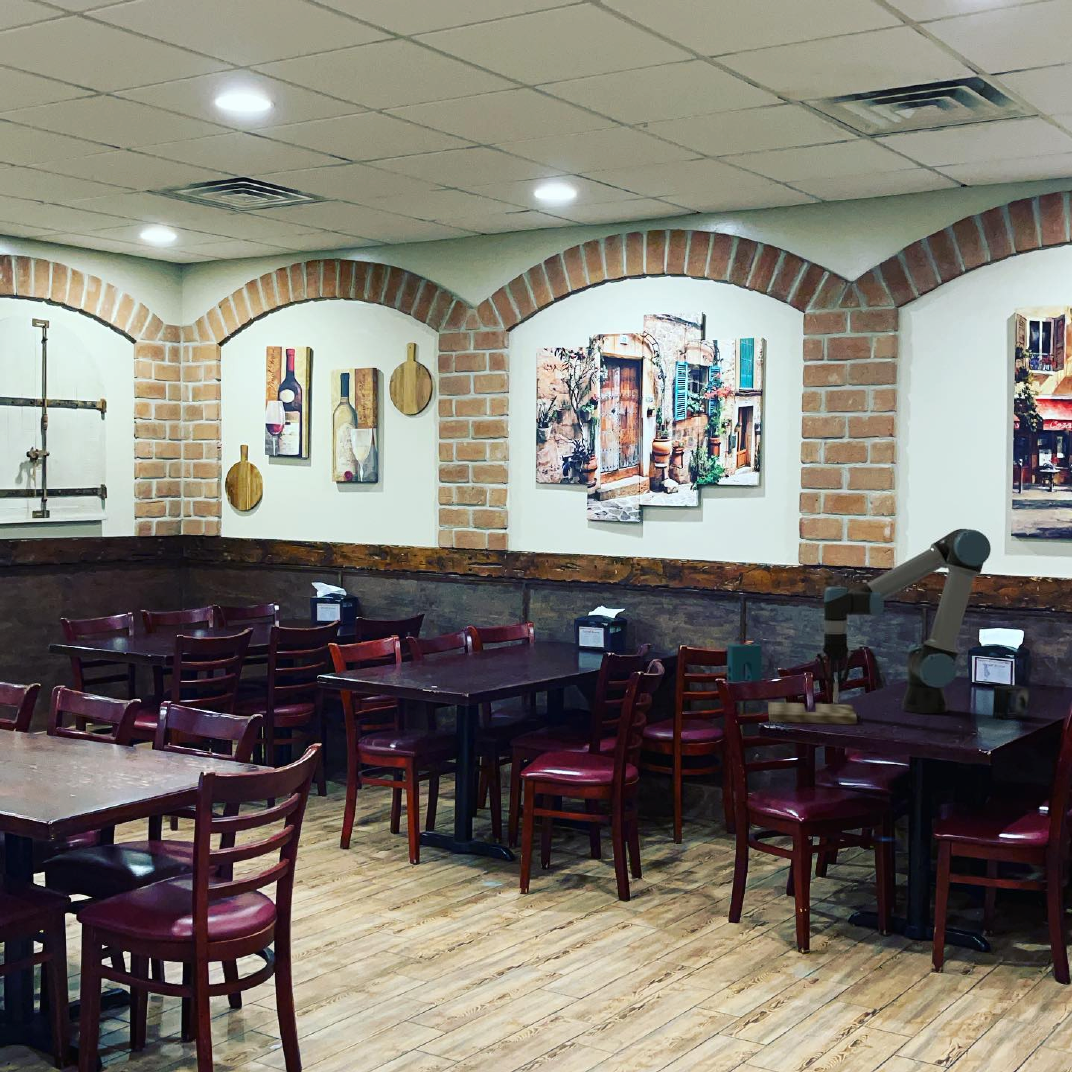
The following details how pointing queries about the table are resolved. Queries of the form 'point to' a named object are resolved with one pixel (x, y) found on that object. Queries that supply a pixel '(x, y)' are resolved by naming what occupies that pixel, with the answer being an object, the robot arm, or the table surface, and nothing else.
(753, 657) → the block
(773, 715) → the laid floor
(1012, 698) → the small box
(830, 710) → the plank near
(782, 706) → the plank far
